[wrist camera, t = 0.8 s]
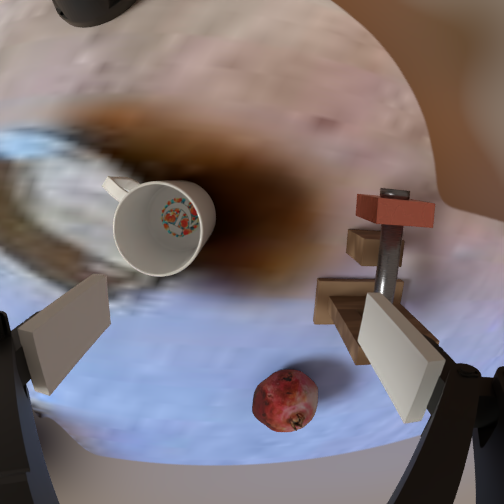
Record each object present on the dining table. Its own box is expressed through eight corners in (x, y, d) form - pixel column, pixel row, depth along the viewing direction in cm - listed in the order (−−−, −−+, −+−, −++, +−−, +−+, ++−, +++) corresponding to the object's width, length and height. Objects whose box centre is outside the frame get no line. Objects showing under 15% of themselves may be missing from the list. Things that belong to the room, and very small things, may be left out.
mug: (232, 209, 39) (223, 222, 28) (188, 264, 41) (166, 295, 30) (157, 151, 38) (122, 142, 27) (118, 207, 39) (75, 218, 28)
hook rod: (357, 185, 34) (379, 188, 27) (408, 190, 34) (436, 194, 27) (340, 345, 38) (354, 374, 32) (386, 343, 38) (405, 369, 32)
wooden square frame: (317, 278, 41) (347, 328, 27) (400, 279, 41) (455, 322, 27) (313, 320, 42) (337, 382, 28) (393, 319, 42) (440, 372, 28)
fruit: (242, 398, 45) (240, 443, 36) (269, 350, 44) (273, 394, 34) (295, 414, 46) (302, 459, 37) (325, 370, 44) (340, 413, 35)
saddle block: (348, 229, 40) (364, 238, 33) (383, 231, 40) (404, 240, 33) (346, 252, 40) (361, 265, 34) (381, 253, 40) (401, 266, 34)
